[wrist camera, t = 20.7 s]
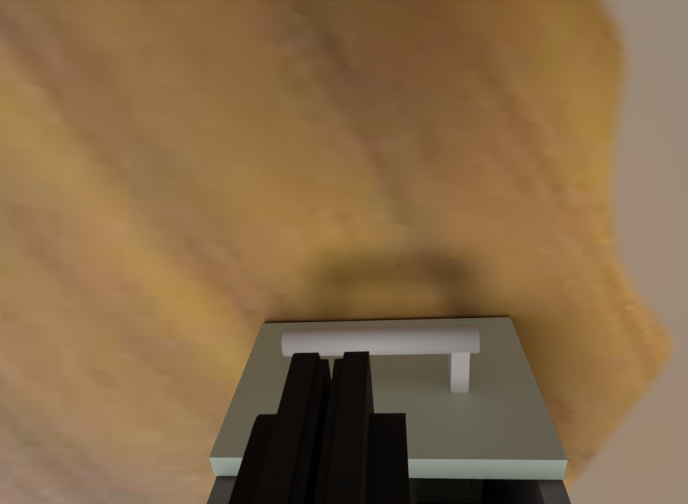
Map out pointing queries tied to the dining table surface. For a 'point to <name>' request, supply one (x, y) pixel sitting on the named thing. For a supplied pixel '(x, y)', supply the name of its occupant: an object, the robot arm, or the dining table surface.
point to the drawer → (419, 398)
